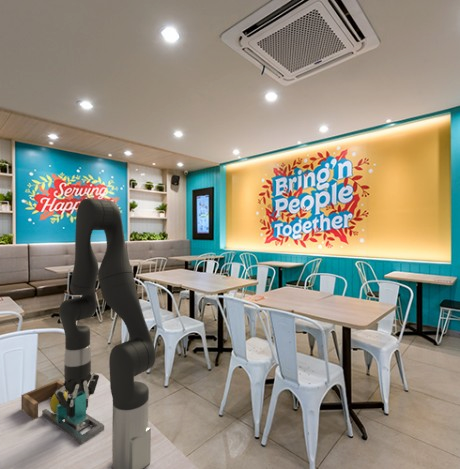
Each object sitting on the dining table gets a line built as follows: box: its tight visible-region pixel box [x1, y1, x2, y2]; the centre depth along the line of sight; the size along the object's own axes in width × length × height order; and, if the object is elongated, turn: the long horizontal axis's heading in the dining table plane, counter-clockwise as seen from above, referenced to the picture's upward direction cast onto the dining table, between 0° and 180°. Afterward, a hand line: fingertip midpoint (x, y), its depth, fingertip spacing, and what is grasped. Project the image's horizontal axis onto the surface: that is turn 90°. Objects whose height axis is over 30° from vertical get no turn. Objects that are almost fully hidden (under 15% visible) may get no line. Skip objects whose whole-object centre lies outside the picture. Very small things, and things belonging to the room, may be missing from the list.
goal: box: [20, 379, 67, 420], centre depth 103 cm, size 9×12×5 cm
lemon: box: [49, 392, 67, 414], centre depth 99 cm, size 6×6×8 cm
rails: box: [41, 408, 105, 445], centre depth 95 cm, size 24×7×2 cm, turn 57°
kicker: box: [56, 391, 90, 432], centre depth 93 cm, size 8×8×10 cm
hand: (77, 412), depth 93 cm, fingers closed on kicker, 3 cm apart
